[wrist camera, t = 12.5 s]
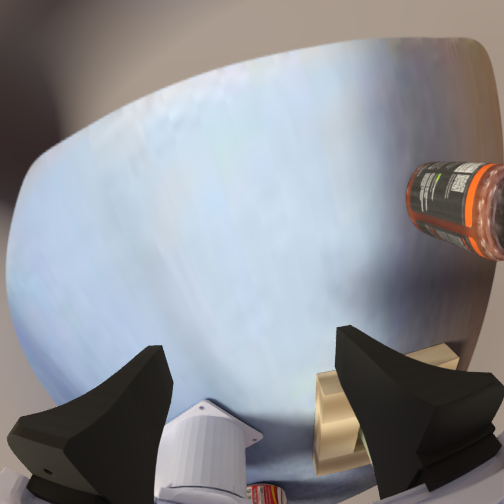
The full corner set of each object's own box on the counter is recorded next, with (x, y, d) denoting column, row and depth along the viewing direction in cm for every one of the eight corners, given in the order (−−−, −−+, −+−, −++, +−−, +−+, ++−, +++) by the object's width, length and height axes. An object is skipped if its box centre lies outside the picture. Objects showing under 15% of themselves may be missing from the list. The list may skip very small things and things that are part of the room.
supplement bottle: (453, 233, 21) (549, 273, 10) (400, 234, 21) (501, 284, 10) (456, 164, 20) (560, 175, 9) (402, 157, 20) (514, 159, 9)
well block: (416, 429, 28) (425, 444, 25) (312, 457, 28) (316, 476, 25) (444, 342, 24) (459, 357, 21) (316, 373, 24) (324, 395, 21)
